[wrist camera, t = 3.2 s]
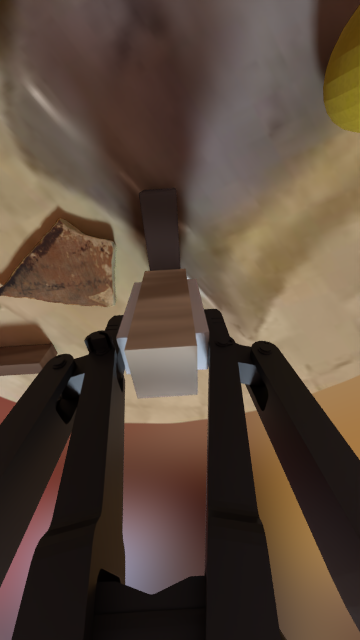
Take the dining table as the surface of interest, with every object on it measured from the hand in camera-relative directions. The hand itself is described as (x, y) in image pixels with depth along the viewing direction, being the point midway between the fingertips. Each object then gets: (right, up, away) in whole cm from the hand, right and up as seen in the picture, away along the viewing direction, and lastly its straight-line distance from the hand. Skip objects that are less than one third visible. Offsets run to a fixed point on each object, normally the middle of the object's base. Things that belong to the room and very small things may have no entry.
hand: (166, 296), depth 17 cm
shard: (-9, +2, +4) cm, 10 cm away
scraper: (0, +2, +3) cm, 4 cm away
